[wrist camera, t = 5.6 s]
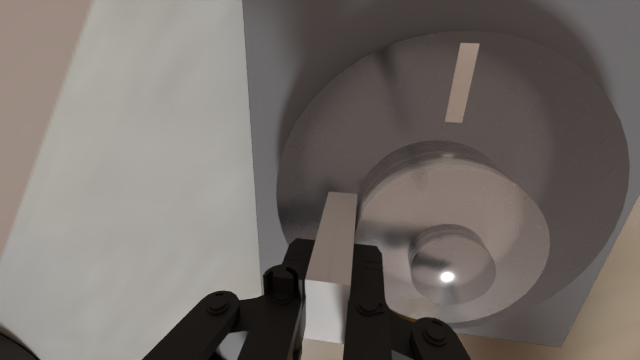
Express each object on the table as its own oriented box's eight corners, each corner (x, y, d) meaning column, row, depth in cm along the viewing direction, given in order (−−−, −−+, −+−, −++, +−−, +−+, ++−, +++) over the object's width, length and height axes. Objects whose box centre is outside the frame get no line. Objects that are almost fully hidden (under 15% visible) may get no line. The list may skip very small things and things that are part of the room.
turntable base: (268, 292, 26) (261, 308, 24) (251, -13, 17) (238, -19, 15) (549, 329, 23) (563, 351, 21) (710, -9, 14) (755, -16, 12)
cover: (351, 260, 19) (346, 331, 14) (361, 135, 16) (358, 174, 11) (487, 275, 18) (530, 356, 13) (528, 145, 15) (603, 192, 10)
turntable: (286, 339, 25) (263, 424, 19) (279, 27, 16) (229, 17, 10) (520, 374, 23) (569, 481, 17) (674, 36, 13) (893, 31, 8)
